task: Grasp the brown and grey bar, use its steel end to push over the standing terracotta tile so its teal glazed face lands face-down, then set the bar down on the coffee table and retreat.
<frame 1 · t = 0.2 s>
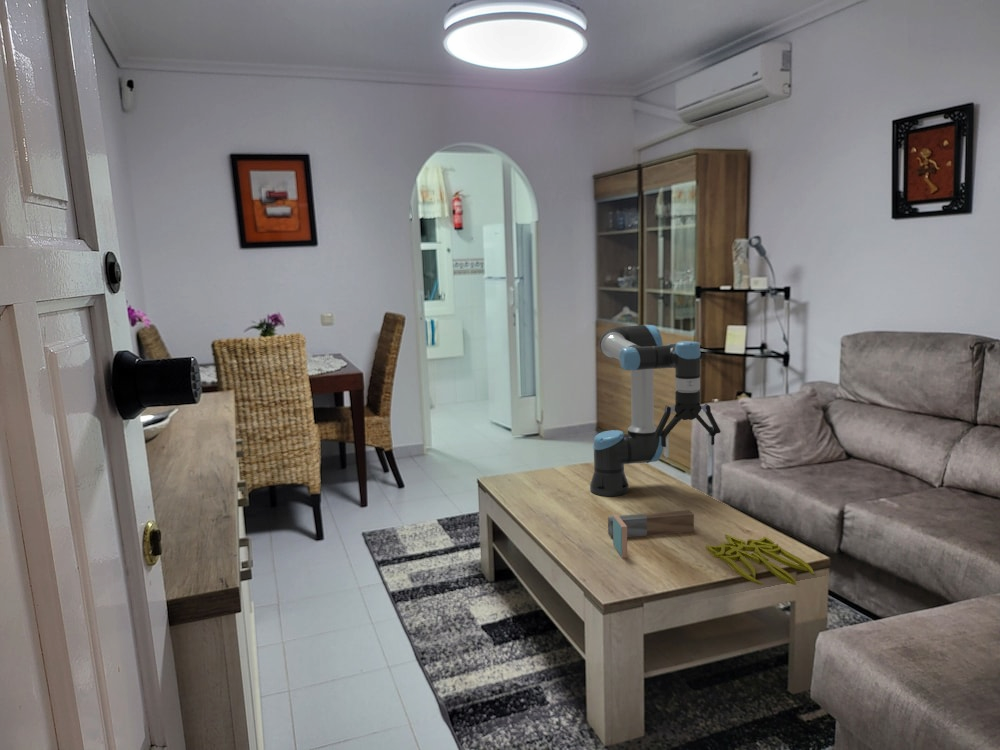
hand: (687, 455, 216), 27 cm above the table, fingers open, 13 cm apart
brown and grey bar: (650, 532, 224), on the table
tile: (620, 551, 211), on the table
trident: (757, 561, 201), on the table
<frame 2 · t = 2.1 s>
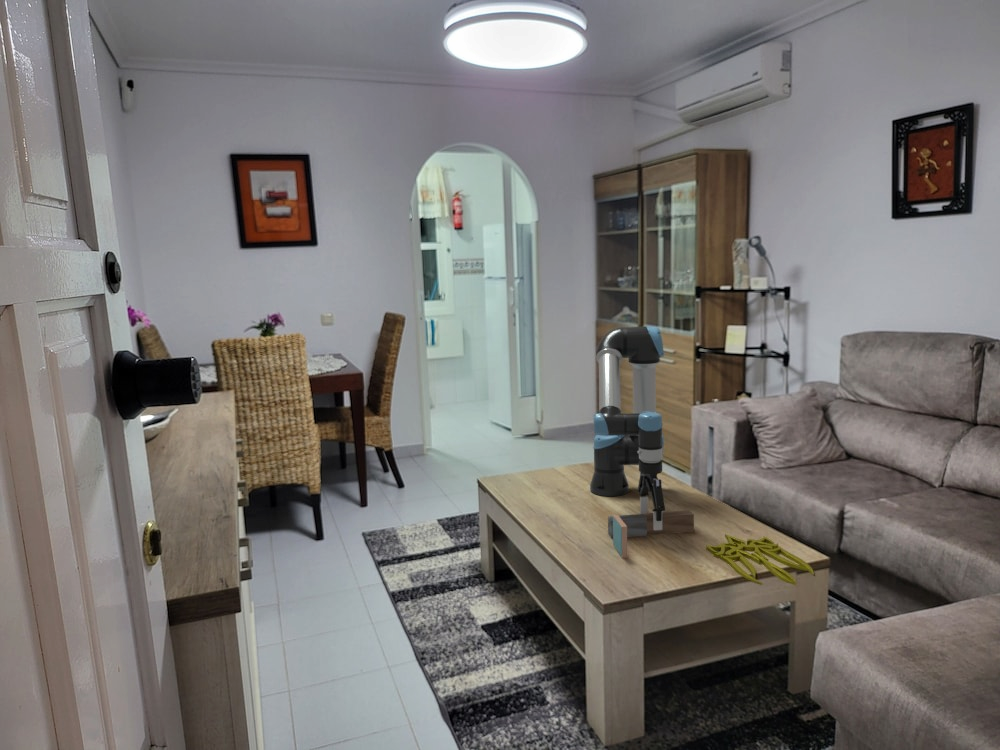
hand: (650, 522, 223), 4 cm above the table, fingers open, 13 cm apart
nothing on the table moved.
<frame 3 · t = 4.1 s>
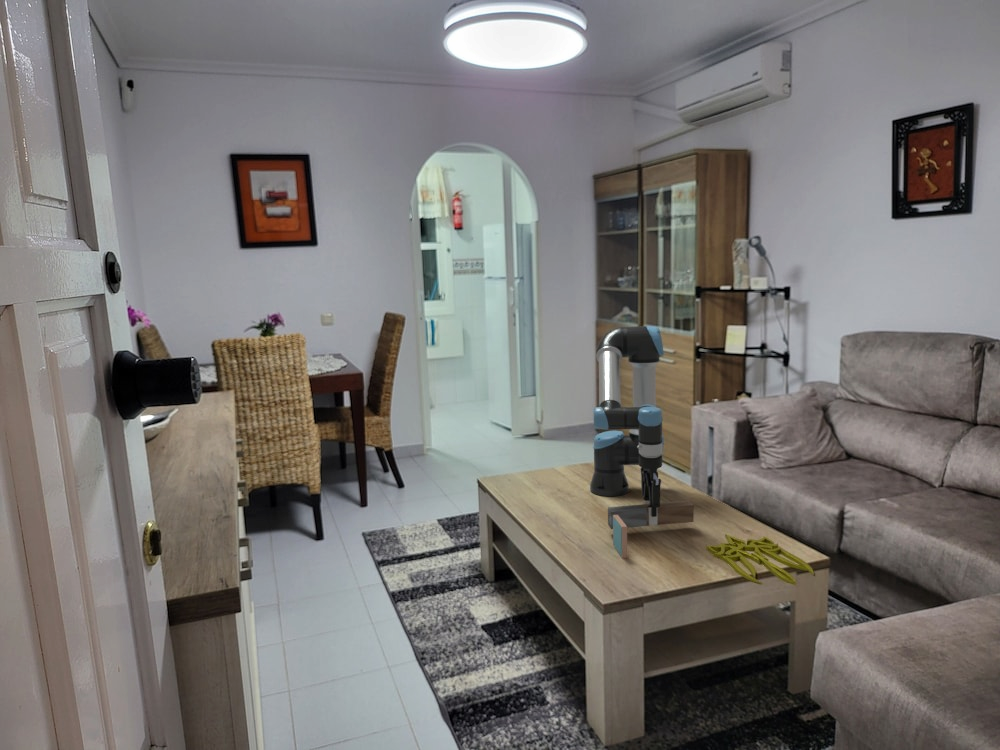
hand: (650, 521, 224), 3 cm above the table, fingers closed on brown and grey bar, 4 cm apart
brown and grey bar: (650, 523, 225), point 3 cm above the table, touching gripper
everything else where it was.
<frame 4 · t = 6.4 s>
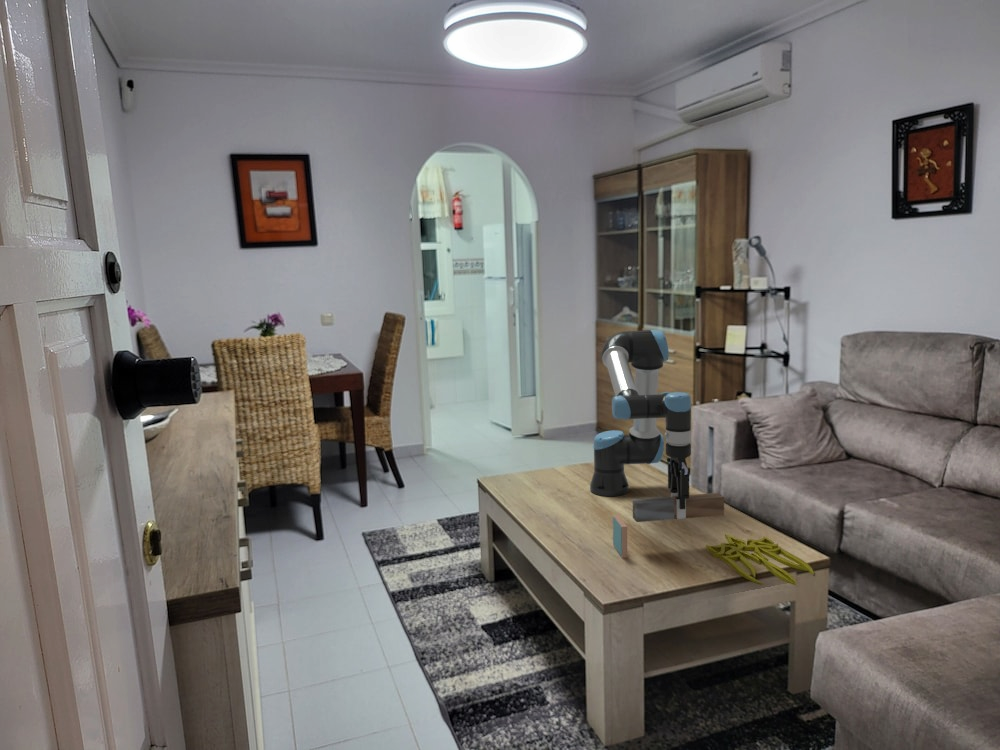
hand: (678, 515, 211), 10 cm above the table, fingers closed on brown and grey bar, 4 cm apart
brown and grey bar: (678, 516, 211), point 10 cm above the table, touching gripper
everything else where it was.
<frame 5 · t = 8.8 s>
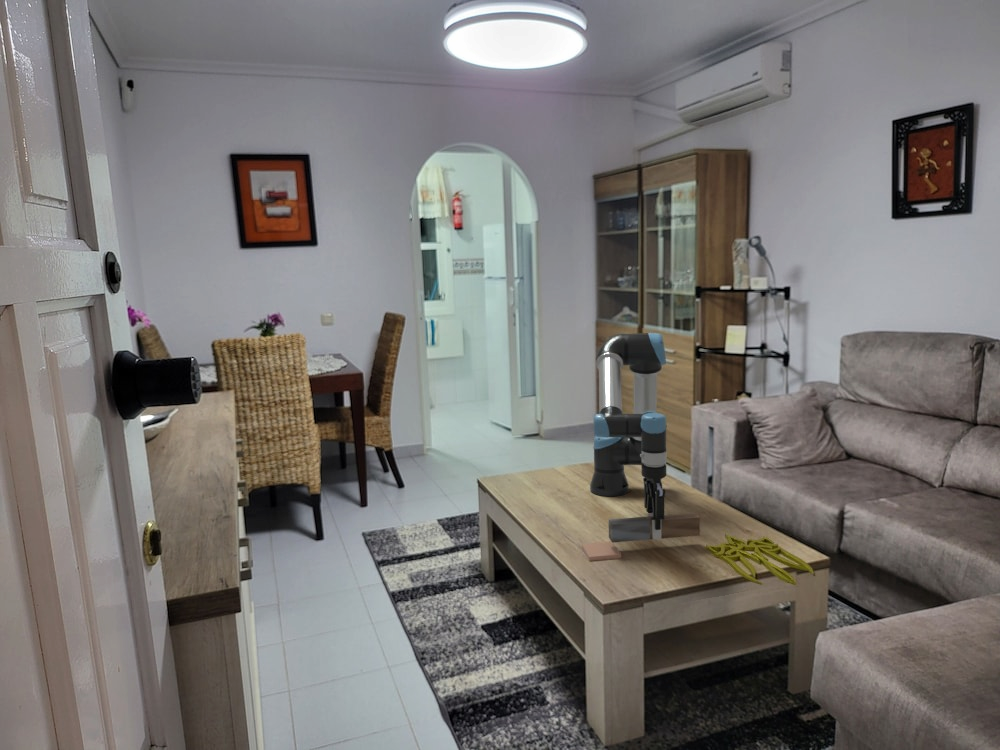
hand: (654, 535, 212), 4 cm above the table, fingers closed on brown and grey bar, 4 cm apart
brown and grey bar: (654, 536, 212), point 4 cm above the table, touching gripper
tile: (616, 549, 211), on the table, tilted 90°
everything else where it was.
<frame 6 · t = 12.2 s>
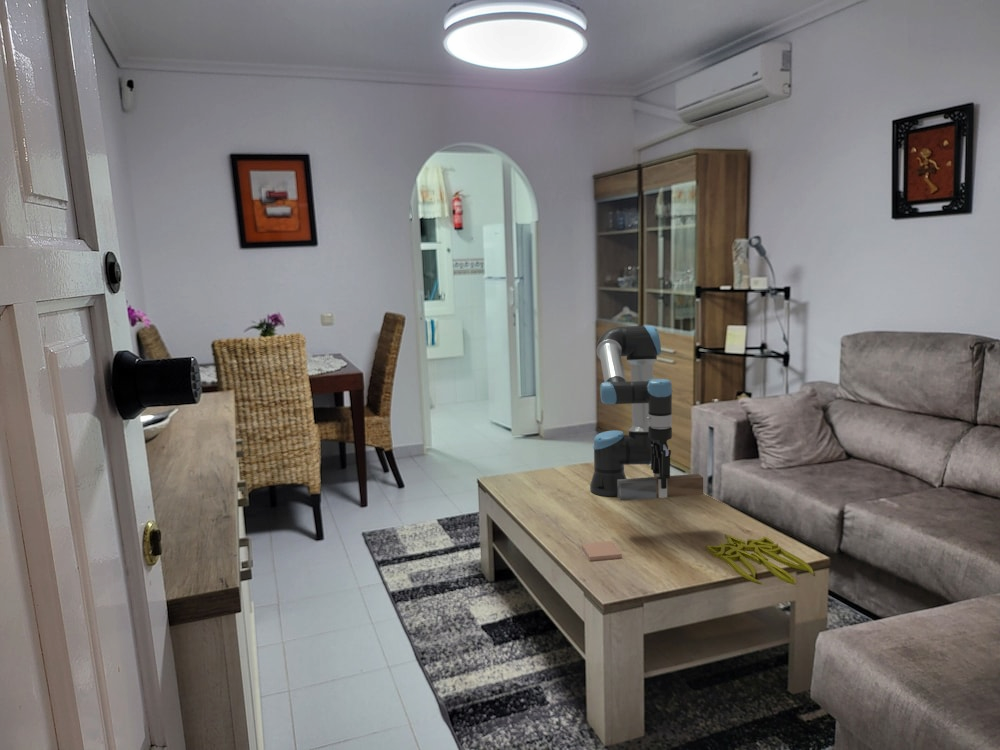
hand: (660, 494, 225), 12 cm above the table, fingers closed on brown and grey bar, 4 cm apart
brown and grey bar: (660, 495, 225), point 12 cm above the table, touching gripper
everything else where it was.
when the fingers open (0 cm above the table, at t = 14.6 s): brown and grey bar stays where it is, on the table.
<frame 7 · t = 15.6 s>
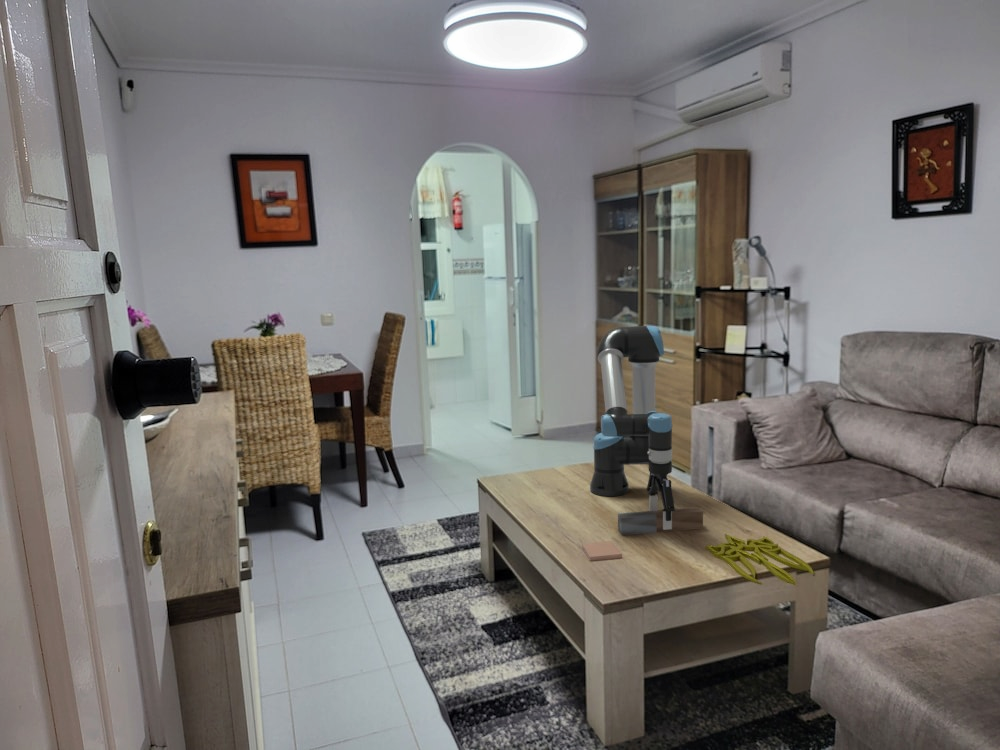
hand: (660, 521, 227), 3 cm above the table, fingers open, 13 cm apart
brown and grey bar: (660, 529, 227), on the table
everything else where it was.
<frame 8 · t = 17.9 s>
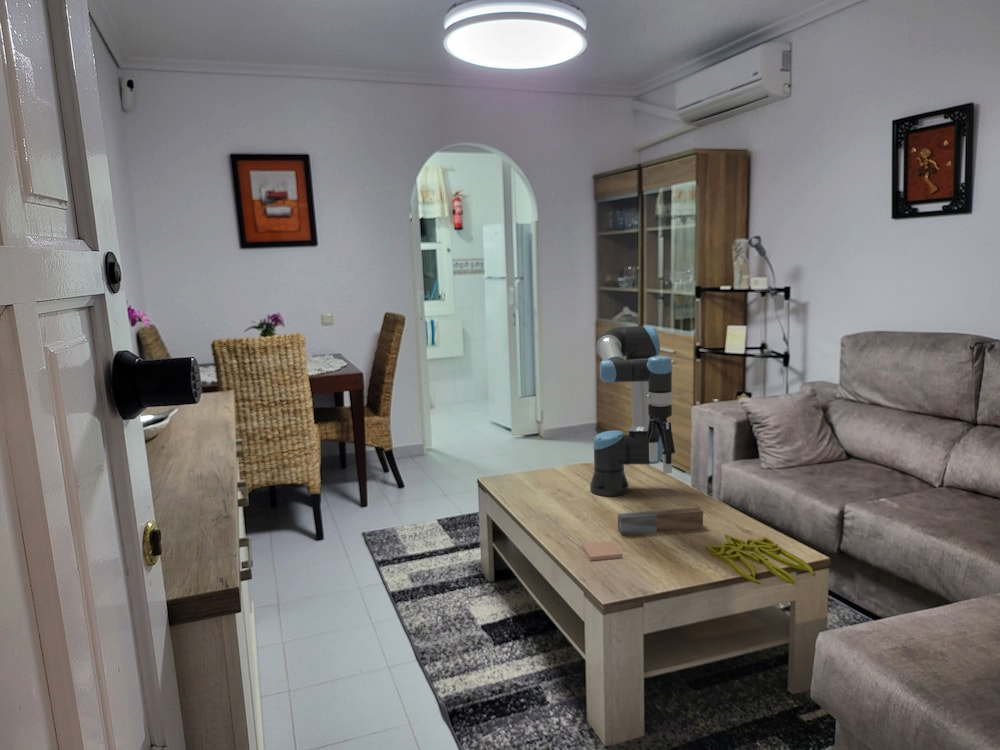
hand: (660, 466, 223), 22 cm above the table, fingers open, 13 cm apart
nothing on the table moved.
at the end: tile tilted 90°; the gripper is holding nothing; brown and grey bar touching table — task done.
